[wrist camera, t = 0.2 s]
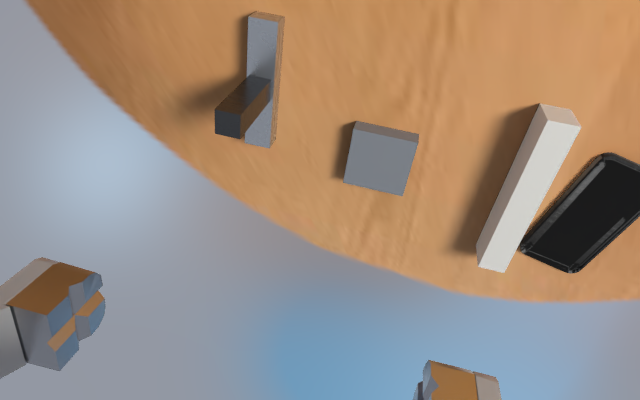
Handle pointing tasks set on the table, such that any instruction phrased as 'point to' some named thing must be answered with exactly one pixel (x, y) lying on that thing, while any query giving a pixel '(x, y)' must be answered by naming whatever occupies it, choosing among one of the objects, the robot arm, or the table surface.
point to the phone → (587, 215)
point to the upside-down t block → (256, 85)
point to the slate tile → (380, 158)
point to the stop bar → (526, 184)
